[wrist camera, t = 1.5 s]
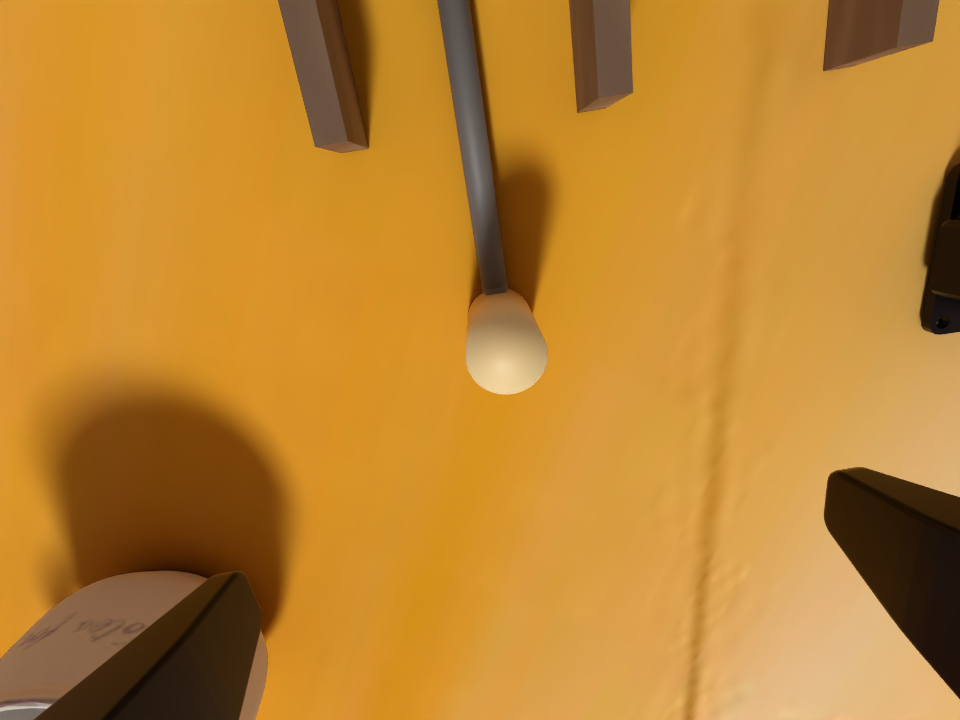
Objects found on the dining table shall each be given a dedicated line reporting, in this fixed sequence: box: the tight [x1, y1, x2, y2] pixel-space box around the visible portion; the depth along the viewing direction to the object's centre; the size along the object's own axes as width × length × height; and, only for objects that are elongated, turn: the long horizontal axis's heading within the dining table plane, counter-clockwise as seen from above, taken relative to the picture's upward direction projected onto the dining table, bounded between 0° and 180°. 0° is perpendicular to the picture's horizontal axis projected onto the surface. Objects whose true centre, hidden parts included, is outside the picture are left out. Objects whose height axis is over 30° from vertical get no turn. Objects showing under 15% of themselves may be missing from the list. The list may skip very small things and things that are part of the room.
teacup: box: [0, 571, 268, 720], centre depth 21 cm, size 14×11×8 cm
